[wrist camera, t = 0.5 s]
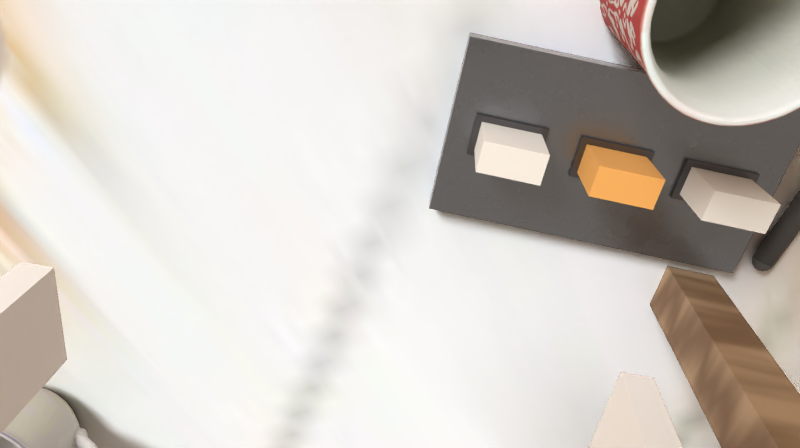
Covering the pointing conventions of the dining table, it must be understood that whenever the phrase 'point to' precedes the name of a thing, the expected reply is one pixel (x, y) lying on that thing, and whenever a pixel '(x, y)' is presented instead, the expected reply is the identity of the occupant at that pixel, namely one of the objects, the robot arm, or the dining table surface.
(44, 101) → the dining table surface
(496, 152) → the paddle
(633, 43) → the mug
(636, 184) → the block
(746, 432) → the post
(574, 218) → the switch plate
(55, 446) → the teacup
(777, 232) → the dark grey rod
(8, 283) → the robot arm
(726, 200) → the cream rectangular box
